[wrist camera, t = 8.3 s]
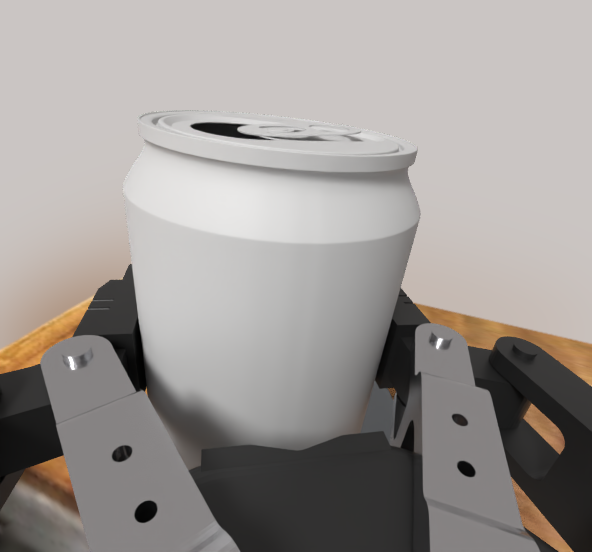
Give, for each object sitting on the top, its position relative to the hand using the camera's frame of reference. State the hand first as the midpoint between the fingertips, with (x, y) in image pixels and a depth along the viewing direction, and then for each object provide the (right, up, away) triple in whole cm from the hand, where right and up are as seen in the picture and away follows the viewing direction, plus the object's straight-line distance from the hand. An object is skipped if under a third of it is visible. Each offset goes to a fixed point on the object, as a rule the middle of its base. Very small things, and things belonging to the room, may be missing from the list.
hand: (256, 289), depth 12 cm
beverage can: (0, -7, +1) cm, 7 cm away
